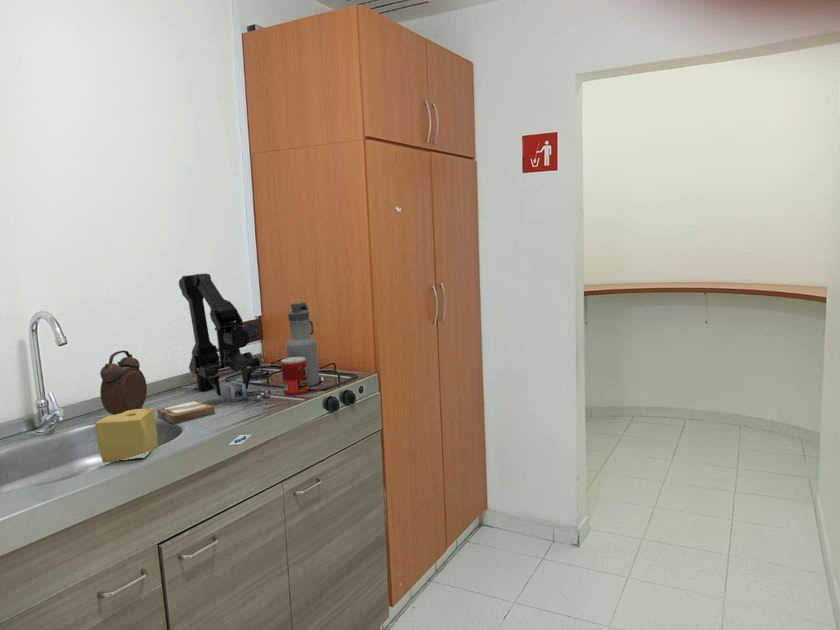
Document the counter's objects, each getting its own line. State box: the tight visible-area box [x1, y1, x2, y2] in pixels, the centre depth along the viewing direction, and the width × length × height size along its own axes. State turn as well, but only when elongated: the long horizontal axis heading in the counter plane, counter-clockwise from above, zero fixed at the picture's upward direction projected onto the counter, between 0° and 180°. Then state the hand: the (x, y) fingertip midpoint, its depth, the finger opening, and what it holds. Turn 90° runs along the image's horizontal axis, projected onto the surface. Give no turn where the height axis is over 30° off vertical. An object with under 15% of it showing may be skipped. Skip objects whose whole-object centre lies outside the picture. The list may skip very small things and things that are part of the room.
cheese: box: [95, 407, 158, 463], centre depth 149 cm, size 10×11×10 cm
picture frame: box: [156, 399, 216, 425], centre depth 181 cm, size 12×12×2 cm
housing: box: [219, 380, 247, 403], centre depth 198 cm, size 8×5×5 cm, turn 43°
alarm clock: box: [99, 350, 148, 415], centre depth 183 cm, size 15×7×20 cm, turn 171°
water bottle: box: [286, 301, 320, 388], centre depth 209 cm, size 10×10×28 cm
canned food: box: [280, 357, 309, 396], centre depth 200 cm, size 8×8×11 cm
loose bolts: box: [253, 389, 272, 402], centre depth 197 cm, size 6×8×2 cm
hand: (232, 392), depth 198 cm, fingers open, 9 cm apart
